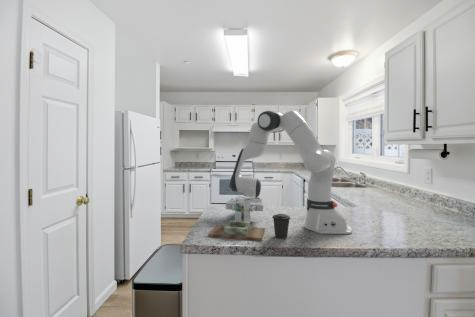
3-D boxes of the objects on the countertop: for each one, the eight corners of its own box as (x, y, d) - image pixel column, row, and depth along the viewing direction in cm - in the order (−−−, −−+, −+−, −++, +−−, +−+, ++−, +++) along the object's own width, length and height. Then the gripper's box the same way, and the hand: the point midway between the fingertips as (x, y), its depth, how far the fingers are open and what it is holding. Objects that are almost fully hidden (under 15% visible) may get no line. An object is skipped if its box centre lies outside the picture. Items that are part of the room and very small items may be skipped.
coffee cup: (276, 240, 116) (276, 218, 116) (269, 234, 124) (269, 213, 124) (293, 238, 119) (293, 216, 118) (285, 232, 126) (285, 212, 126)
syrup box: (234, 224, 138) (234, 196, 137) (242, 222, 142) (242, 195, 141) (242, 227, 134) (242, 198, 133) (250, 224, 138) (250, 197, 137)
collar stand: (264, 230, 130) (264, 221, 130) (261, 240, 116) (261, 231, 116) (216, 227, 134) (216, 218, 134) (208, 236, 121) (208, 227, 120)
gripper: (228, 196, 152) (222, 202, 138) (264, 198, 148) (262, 204, 134) (228, 207, 152) (222, 214, 139) (264, 209, 148) (262, 216, 135)
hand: (242, 209), depth 136 cm, fingers closed on syrup box, 7 cm apart
